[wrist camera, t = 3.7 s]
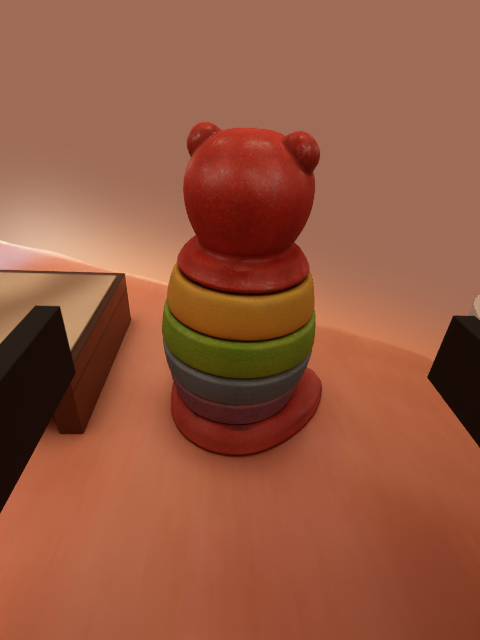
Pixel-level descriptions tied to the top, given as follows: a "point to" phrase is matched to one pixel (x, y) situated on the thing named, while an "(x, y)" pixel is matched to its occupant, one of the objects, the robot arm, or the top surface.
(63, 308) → the dollhouse bed
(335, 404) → the top surface
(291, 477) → the top surface
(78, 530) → the top surface
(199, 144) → the stacking bear
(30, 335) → the robot arm
